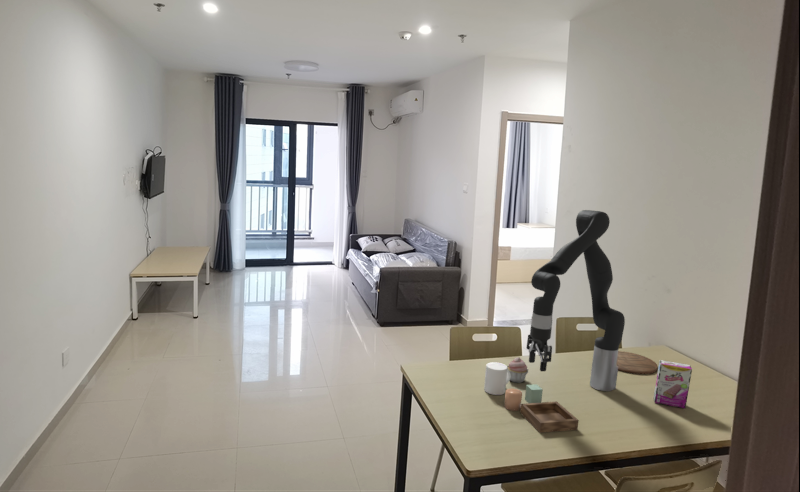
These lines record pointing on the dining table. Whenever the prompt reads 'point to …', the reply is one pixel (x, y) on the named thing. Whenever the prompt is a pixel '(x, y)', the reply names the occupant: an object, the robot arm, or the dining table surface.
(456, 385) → the dining table surface
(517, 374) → the cupcake
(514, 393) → the peach capsule shape
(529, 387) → the sage block
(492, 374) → the mug
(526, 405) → the tray
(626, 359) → the trivet
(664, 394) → the candy bar box
